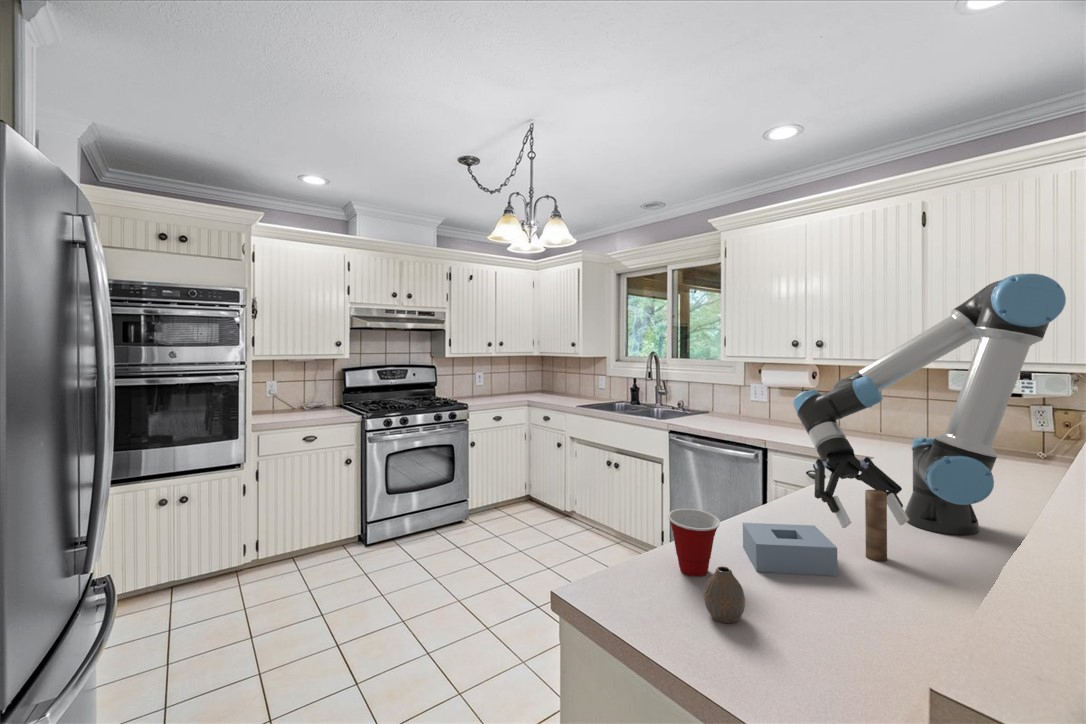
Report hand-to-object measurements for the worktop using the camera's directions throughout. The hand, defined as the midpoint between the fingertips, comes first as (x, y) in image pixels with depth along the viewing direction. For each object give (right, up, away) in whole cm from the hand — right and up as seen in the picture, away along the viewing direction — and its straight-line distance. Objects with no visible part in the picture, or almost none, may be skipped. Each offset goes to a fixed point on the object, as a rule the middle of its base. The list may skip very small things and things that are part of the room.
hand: (875, 524), depth 109 cm
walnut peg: (+1, -8, +1) cm, 8 cm away
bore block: (-20, -8, +1) cm, 21 cm away
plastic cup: (-42, -9, -3) cm, 43 cm away
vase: (-42, -10, -22) cm, 48 cm away
